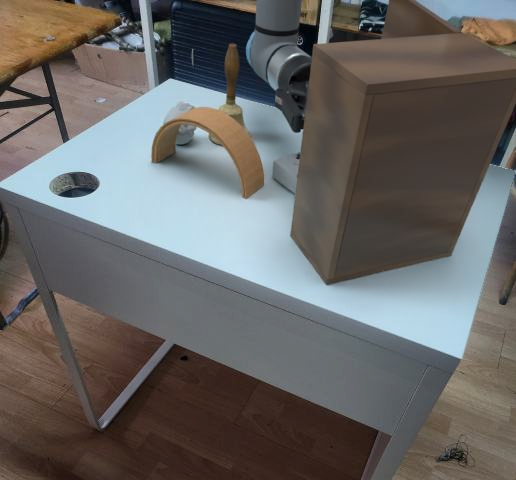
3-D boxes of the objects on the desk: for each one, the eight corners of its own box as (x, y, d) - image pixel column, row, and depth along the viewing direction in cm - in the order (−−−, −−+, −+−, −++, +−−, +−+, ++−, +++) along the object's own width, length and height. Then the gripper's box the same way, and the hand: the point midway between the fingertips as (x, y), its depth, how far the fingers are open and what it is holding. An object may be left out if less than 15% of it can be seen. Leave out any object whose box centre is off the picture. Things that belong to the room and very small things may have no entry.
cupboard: (289, 236, 75) (313, 44, 56) (406, 213, 81) (463, 32, 62) (326, 285, 68) (367, 84, 49) (450, 256, 74) (531, 67, 55)
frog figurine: (206, 143, 94) (206, 105, 89) (177, 154, 90) (174, 115, 85) (186, 131, 97) (184, 94, 91) (157, 141, 93) (153, 103, 88)
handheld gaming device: (271, 179, 86) (273, 158, 83) (334, 158, 92) (338, 138, 90) (302, 204, 82) (306, 183, 79) (367, 181, 88) (372, 160, 85)
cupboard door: (390, 147, 96) (432, -12, 77) (438, 207, 83) (503, 31, 64) (357, 149, 95) (391, -13, 76) (401, 210, 82) (455, 32, 63)
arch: (172, 149, 91) (168, 92, 84) (264, 184, 85) (268, 126, 77) (151, 161, 88) (145, 103, 81) (245, 199, 81) (248, 139, 74)
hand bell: (229, 123, 100) (229, 33, 88) (260, 137, 97) (265, 45, 85) (199, 136, 95) (196, 43, 84) (231, 151, 92) (232, 56, 80)
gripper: (348, 96, 88) (422, 156, 74) (238, 109, 82) (296, 177, 68) (356, 49, 83) (438, 105, 69) (239, 59, 77) (303, 122, 63)
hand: (367, 140), depth 69 cm, fingers closed on milk carton, 8 cm apart
